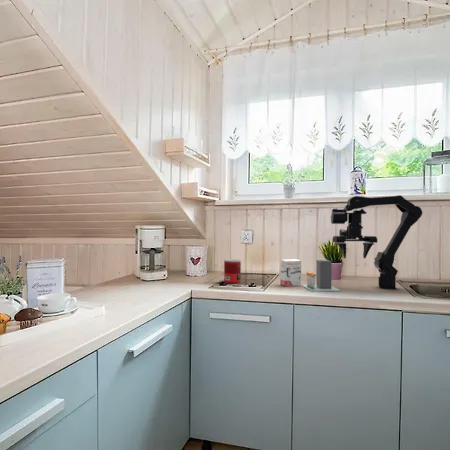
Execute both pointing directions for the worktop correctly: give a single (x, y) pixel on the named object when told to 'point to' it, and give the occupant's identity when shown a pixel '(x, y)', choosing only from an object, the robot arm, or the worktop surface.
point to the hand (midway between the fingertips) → (354, 258)
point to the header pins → (310, 280)
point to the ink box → (290, 272)
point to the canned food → (232, 271)
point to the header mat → (321, 289)
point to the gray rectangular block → (324, 273)
